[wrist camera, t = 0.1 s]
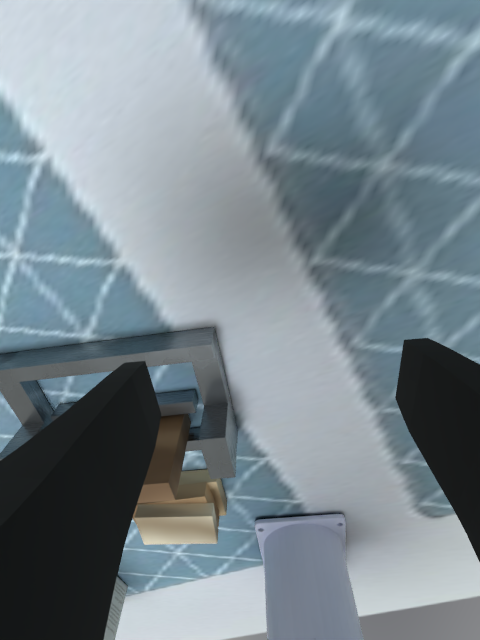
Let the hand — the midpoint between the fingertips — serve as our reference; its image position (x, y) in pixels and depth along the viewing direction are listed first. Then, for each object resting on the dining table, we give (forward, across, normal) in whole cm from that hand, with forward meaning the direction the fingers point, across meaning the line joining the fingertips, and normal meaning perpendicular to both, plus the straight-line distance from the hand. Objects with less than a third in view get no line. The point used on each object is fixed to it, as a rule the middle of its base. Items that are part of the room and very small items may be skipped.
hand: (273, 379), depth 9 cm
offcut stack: (+10, +8, +19) cm, 23 cm away
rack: (+10, +10, +9) cm, 17 cm away
